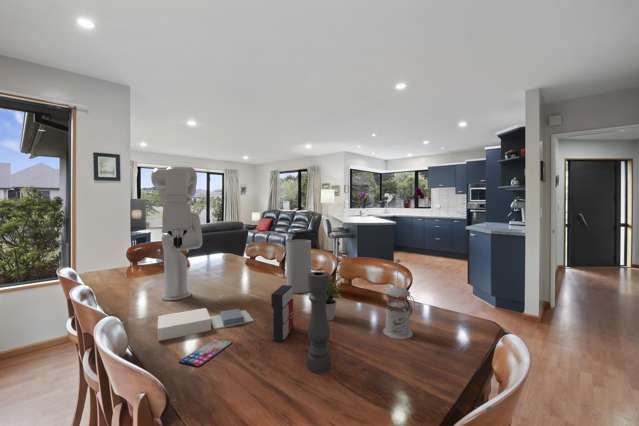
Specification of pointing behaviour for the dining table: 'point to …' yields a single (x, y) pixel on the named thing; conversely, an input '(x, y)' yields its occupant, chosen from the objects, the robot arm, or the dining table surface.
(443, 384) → the dining table surface
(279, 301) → the dark grey box
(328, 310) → the house plant
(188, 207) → the robot arm
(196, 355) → the smartphone
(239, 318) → the tile
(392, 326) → the french press
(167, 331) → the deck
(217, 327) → the mat
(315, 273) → the candle holder
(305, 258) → the cylinder vase
